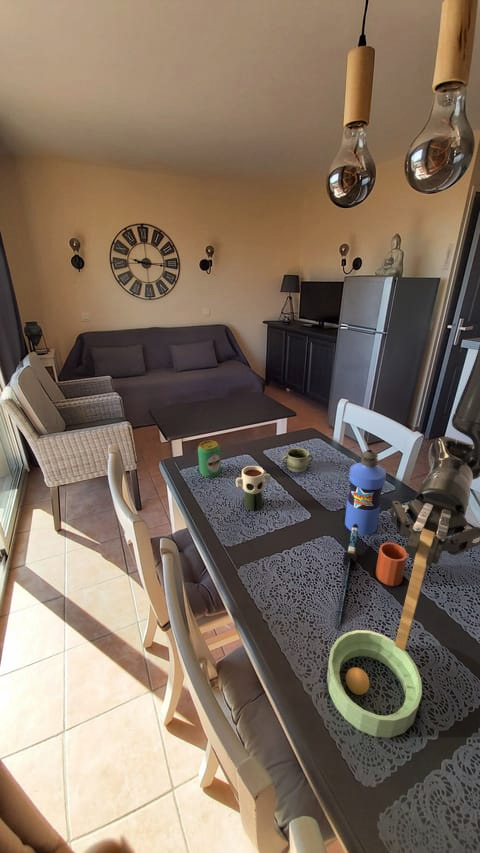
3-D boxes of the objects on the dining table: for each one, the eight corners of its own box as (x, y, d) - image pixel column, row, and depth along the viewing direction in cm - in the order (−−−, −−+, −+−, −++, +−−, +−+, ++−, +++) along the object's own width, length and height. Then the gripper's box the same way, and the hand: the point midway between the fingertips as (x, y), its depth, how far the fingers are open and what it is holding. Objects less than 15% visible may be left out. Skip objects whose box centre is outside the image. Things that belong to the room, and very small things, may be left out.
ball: (364, 676, 67) (367, 662, 65) (370, 700, 63) (373, 686, 62) (342, 675, 67) (344, 661, 66) (347, 699, 64) (349, 685, 62)
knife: (351, 533, 102) (352, 521, 100) (362, 536, 101) (364, 524, 98) (325, 632, 78) (326, 619, 76) (339, 637, 77) (340, 625, 75)
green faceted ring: (398, 652, 72) (403, 631, 69) (430, 744, 58) (437, 723, 56) (321, 648, 73) (323, 628, 70) (334, 738, 59) (337, 717, 57)
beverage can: (206, 480, 132) (203, 451, 127) (196, 471, 138) (193, 443, 133) (225, 474, 136) (223, 445, 131) (214, 465, 142) (212, 438, 137)
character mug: (239, 514, 113) (238, 479, 108) (235, 501, 120) (233, 467, 114) (272, 509, 115) (273, 474, 110) (266, 497, 121) (266, 463, 116)
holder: (396, 570, 91) (402, 542, 87) (405, 590, 85) (411, 561, 82) (372, 569, 91) (376, 541, 88) (379, 589, 86) (384, 560, 82)
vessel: (284, 474, 134) (284, 459, 132) (279, 462, 142) (279, 448, 140) (315, 471, 135) (316, 457, 133) (309, 460, 143) (310, 446, 141)
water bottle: (348, 512, 113) (357, 440, 102) (379, 521, 108) (392, 447, 98) (340, 530, 105) (348, 454, 95) (373, 540, 101) (385, 462, 91)
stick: (397, 638, 62) (423, 528, 52) (406, 643, 61) (435, 532, 51) (394, 646, 61) (420, 534, 51) (404, 651, 60) (433, 538, 50)
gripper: (404, 466, 65) (374, 517, 52) (496, 490, 57) (486, 557, 44) (398, 500, 68) (367, 556, 55) (484, 528, 60) (471, 600, 48)
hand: (421, 556), depth 50 cm, fingers closed on stick, 1 cm apart
